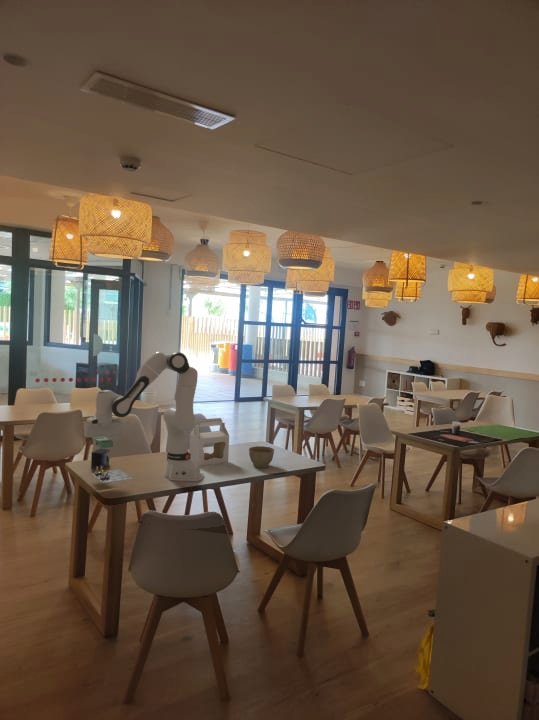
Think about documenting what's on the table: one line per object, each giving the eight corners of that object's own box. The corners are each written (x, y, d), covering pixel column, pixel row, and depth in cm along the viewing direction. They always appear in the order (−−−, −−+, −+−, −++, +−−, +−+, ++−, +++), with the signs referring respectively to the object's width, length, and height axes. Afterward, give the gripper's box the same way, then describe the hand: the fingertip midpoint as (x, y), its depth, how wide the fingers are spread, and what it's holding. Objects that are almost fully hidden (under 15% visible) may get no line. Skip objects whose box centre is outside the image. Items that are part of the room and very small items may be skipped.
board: (112, 447, 284) (113, 441, 283) (101, 448, 280) (101, 442, 279) (104, 441, 295) (104, 436, 295) (92, 442, 291) (92, 437, 291)
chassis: (133, 480, 287) (133, 470, 286) (102, 484, 276) (102, 474, 276) (119, 470, 303) (120, 461, 302) (90, 474, 292) (90, 465, 292)
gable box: (197, 466, 321) (199, 421, 319) (188, 461, 331) (190, 418, 329) (228, 462, 334) (230, 419, 332) (218, 457, 344) (220, 415, 342)
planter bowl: (256, 461, 339) (256, 444, 339) (277, 465, 332) (278, 448, 331) (243, 466, 325) (244, 449, 324) (265, 471, 318) (266, 453, 317)
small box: (100, 470, 301) (101, 453, 300) (90, 469, 302) (91, 452, 302) (109, 466, 311) (110, 449, 311) (99, 465, 313) (100, 448, 312)
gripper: (119, 417, 295) (119, 440, 296) (83, 419, 283) (82, 444, 283) (124, 419, 290) (123, 443, 291) (87, 421, 278) (86, 446, 278)
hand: (102, 443), depth 287 cm, fingers closed on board, 6 cm apart
